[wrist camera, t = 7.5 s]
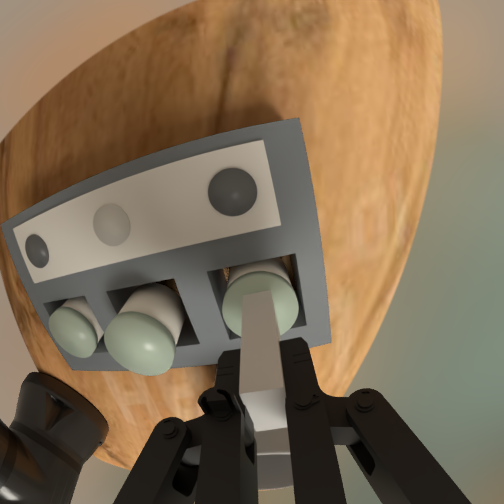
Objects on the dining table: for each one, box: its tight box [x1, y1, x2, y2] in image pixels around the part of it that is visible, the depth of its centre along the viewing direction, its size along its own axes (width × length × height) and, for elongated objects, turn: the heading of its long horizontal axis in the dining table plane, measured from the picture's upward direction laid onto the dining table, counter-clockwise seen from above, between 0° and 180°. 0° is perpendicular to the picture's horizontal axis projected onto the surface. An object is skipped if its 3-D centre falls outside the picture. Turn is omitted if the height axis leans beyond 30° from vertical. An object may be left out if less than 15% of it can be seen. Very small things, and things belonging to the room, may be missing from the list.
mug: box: [214, 368, 294, 490], centre depth 20 cm, size 12×8×11 cm
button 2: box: [49, 295, 104, 358], centre depth 18 cm, size 4×4×4 cm
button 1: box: [222, 257, 299, 336], centre depth 17 cm, size 4×4×4 cm
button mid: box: [104, 283, 186, 376], centre depth 15 cm, size 4×4×4 cm
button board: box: [1, 118, 331, 371], centre depth 18 cm, size 22×14×4 cm, turn 102°
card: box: [13, 140, 281, 284], centre depth 14 cm, size 18×4×1 cm, turn 103°
